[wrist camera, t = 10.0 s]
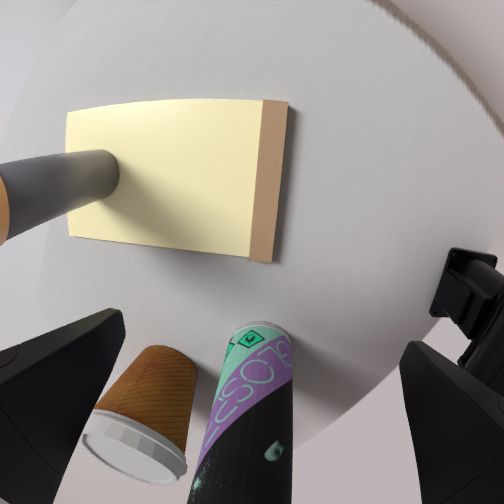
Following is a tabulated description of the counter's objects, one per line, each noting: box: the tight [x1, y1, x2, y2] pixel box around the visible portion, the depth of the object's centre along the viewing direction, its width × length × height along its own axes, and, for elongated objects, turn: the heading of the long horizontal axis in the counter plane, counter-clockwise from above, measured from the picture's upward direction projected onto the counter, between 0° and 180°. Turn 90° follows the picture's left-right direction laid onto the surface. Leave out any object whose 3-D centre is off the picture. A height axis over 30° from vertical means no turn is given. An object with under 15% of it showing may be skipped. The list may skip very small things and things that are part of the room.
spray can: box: [187, 322, 293, 504], centre depth 15 cm, size 6×6×20 cm
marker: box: [0, 149, 120, 246], centre depth 13 cm, size 4×4×14 cm
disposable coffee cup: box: [79, 345, 197, 486], centre depth 21 cm, size 10×10×12 cm
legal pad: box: [65, 99, 288, 263], centre depth 19 cm, size 18×11×1 cm, turn 85°
